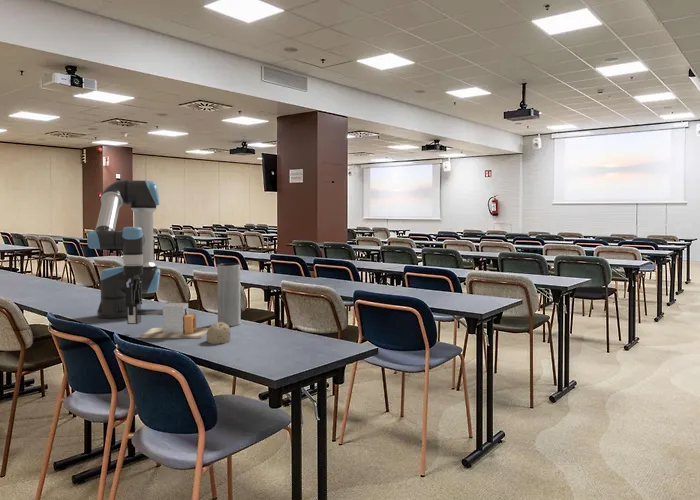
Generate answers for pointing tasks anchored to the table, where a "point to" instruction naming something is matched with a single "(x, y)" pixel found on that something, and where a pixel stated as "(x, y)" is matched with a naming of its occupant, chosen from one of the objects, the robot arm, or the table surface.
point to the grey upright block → (174, 318)
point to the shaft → (144, 312)
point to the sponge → (218, 333)
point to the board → (159, 334)
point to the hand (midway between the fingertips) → (134, 321)
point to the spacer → (190, 323)
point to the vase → (229, 294)
